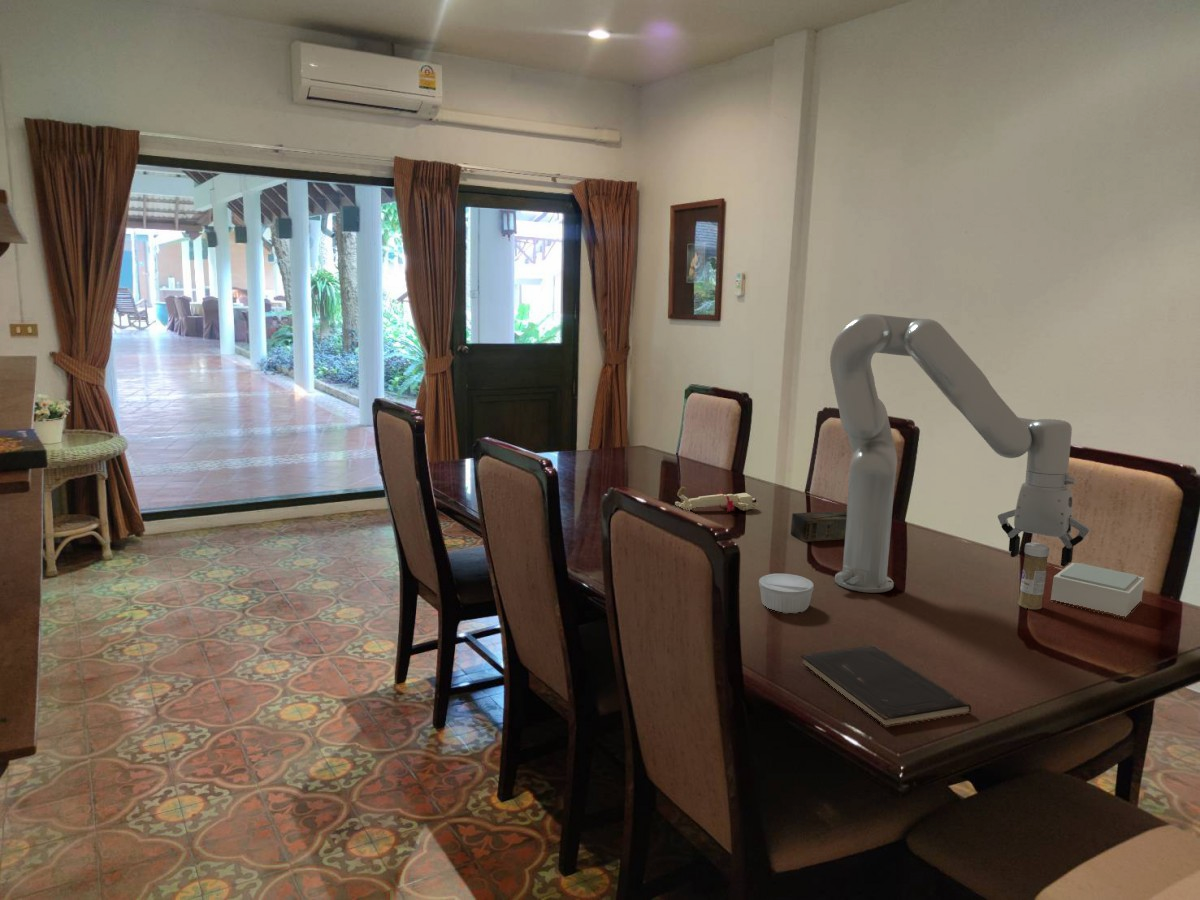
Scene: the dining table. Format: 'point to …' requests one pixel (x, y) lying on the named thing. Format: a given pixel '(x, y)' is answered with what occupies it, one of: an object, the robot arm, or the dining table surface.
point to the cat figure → (717, 501)
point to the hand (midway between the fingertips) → (1039, 560)
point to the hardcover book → (884, 685)
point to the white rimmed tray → (1098, 588)
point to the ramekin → (786, 592)
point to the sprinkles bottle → (1033, 575)
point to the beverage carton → (819, 526)
